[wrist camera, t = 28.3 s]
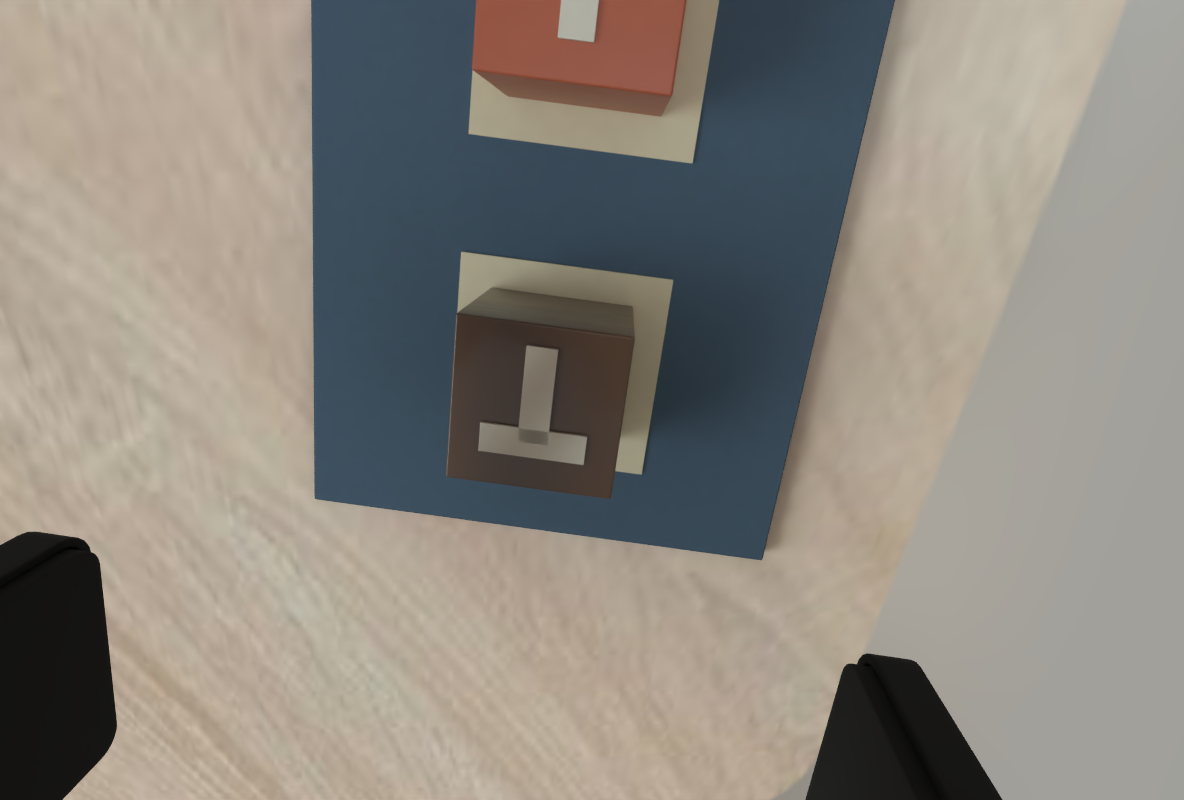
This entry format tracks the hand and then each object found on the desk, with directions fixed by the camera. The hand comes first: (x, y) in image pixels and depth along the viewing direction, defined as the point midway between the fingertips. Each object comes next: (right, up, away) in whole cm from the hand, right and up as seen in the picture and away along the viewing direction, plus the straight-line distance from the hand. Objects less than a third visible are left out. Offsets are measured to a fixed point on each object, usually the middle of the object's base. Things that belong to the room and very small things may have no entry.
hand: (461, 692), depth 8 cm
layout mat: (+1, +10, +12) cm, 16 cm away
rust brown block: (+2, +14, +10) cm, 17 cm away
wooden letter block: (0, +5, +13) cm, 14 cm away
